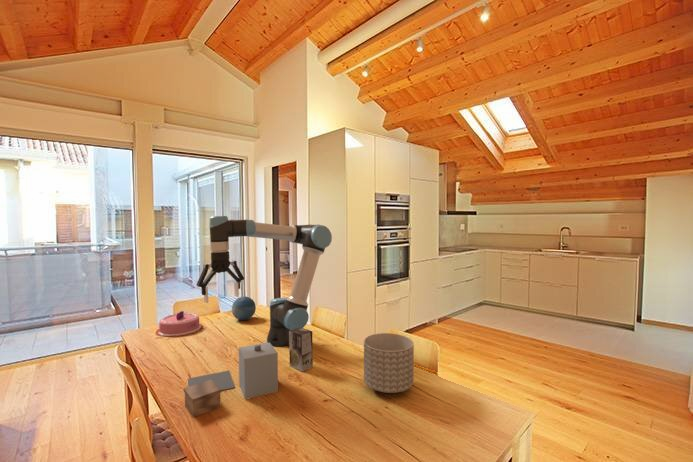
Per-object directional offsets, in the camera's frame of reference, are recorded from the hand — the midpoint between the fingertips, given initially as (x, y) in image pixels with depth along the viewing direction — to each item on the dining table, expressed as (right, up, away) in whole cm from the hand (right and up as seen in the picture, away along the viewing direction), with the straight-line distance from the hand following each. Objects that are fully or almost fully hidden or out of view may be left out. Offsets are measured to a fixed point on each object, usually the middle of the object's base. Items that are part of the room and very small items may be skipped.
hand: (222, 299), depth 146 cm
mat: (+1, -31, -14) cm, 34 cm away
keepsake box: (+5, -31, -30) cm, 44 cm away
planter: (+71, -31, -18) cm, 80 cm away
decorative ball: (-12, -28, +69) cm, 75 cm away
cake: (-44, -29, +50) cm, 73 cm away
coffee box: (+35, -30, +1) cm, 46 cm away
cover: (+21, -31, -18) cm, 41 cm away
